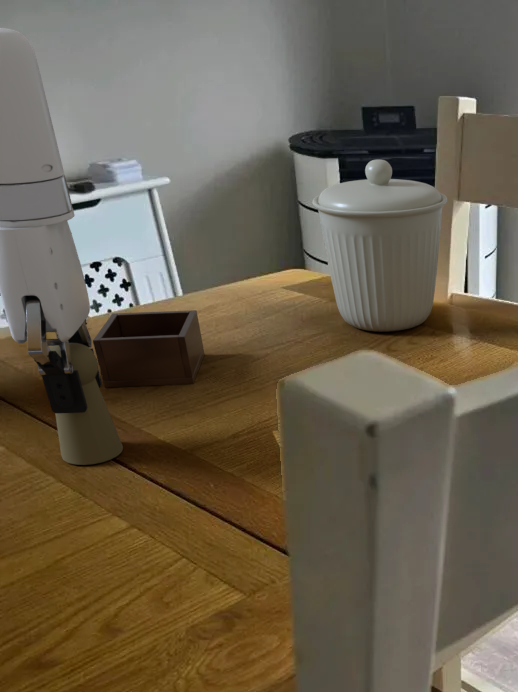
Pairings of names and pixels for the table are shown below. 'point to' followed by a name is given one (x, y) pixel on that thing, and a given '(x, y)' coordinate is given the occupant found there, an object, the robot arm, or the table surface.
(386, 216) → the canister
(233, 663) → the table surface
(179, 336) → the box
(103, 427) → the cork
